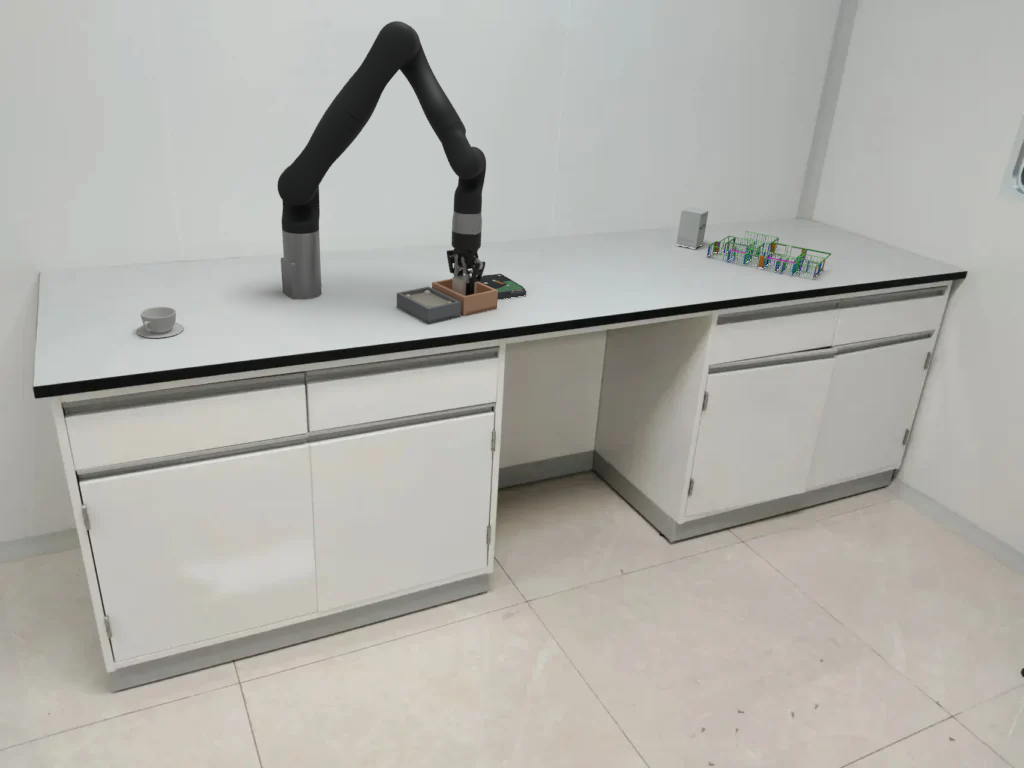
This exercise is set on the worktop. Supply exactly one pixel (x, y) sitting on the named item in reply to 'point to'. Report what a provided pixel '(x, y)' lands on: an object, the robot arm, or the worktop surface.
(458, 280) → the gray rectangular block
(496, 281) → the disk drive
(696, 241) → the supplement box
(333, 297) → the worktop surface
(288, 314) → the worktop surface
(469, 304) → the terracotta bin
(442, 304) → the gravel bin
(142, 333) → the teacup
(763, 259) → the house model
